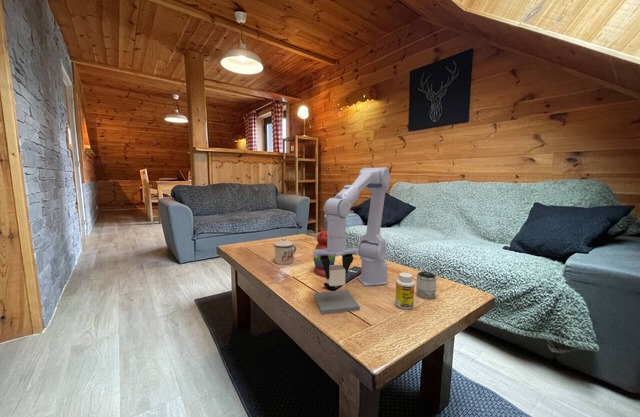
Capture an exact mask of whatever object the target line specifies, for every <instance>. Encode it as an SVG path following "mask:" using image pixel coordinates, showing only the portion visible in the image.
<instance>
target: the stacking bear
mask: <svg viewBox="0 0 640 417" xmlns="http://www.w3.org/2000/svg"><path fill="white" fill-rule="evenodd" d="M316 240H317V244H316V245H315V247H314V250H319V249H325V248H327V229H325V230H321V231H320V232H318V233H317V235H316ZM312 256H313V255H312ZM328 257H329V260H330V265H335V262H336V256H328ZM313 263H314V269H313V272H314V273H315V275H318V276H320V277H324V278H326V276H325V270H324V267H323V264H322V262H321V259H320V257H317V258H314V256H313Z"/></svg>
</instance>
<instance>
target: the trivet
mask: <svg viewBox="0 0 640 417" xmlns="http://www.w3.org/2000/svg"><path fill="white" fill-rule="evenodd" d="M313 297H314V299H315V301H316V304H317V307H318V309H319V311H320V313H321V315H327V314H336V313H337V314H338V313H339V314H340V313H345V312H346V313H347V312H353V311H354V312H355V311H356V312H357V311H360V310H361V306H360V305H359V303H358V302H357V301H356V299H355V298H354V297H353V295H352V293H351V292H350V291H349V290H348V289H341V290H331V291H330V290H329V291H321V292H314V293H313Z"/></svg>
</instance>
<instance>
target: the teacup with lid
mask: <svg viewBox="0 0 640 417" xmlns="http://www.w3.org/2000/svg"><path fill="white" fill-rule="evenodd" d="M296 252H297V245H295V244H294V242H292V241H290V240H288V239H287V238H286V237H282V238H281V239H279V241H276V242H275V243H274V261H275V262H274V263H276V264H277V265H281V266H282V265H283V266H284V265H290V264H293V262H294V255H295V254H296Z"/></svg>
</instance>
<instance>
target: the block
mask: <svg viewBox="0 0 640 417" xmlns="http://www.w3.org/2000/svg"><path fill="white" fill-rule="evenodd" d="M345 271H346V270H345V268H344V267H343V264H334V265H329V279H325V280H326V282H327V283H328V285H329V287H336V286H346V278H345Z"/></svg>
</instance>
